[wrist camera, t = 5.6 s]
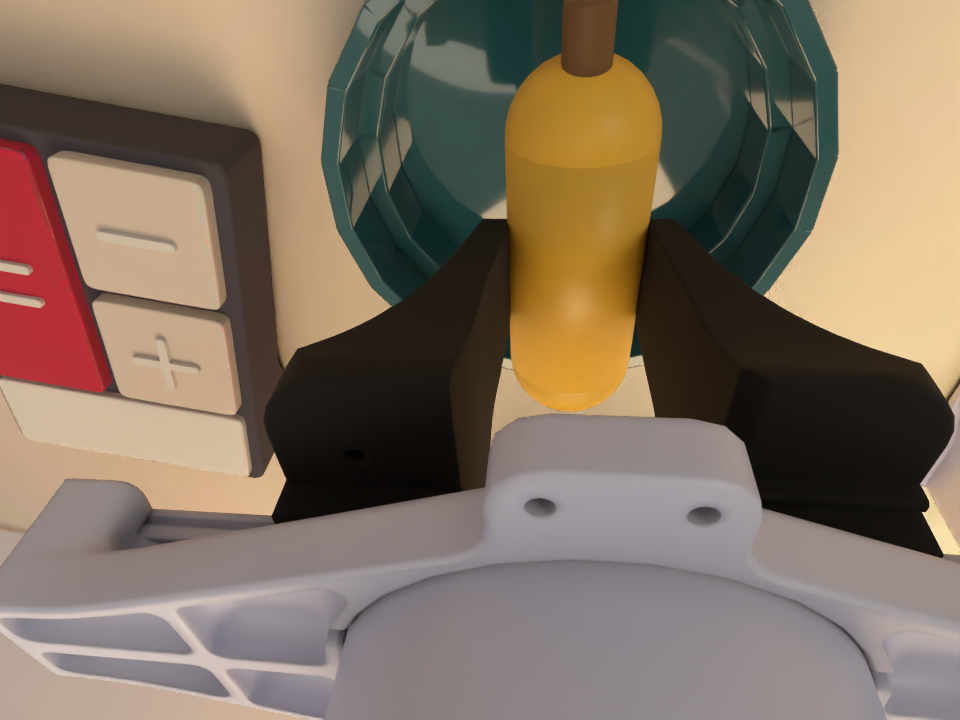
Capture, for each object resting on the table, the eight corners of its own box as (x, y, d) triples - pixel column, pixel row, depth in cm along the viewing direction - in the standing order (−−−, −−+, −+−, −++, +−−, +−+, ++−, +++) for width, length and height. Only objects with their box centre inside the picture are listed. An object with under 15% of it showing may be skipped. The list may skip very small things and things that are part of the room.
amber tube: (618, 363, 18) (627, 442, 15) (514, 360, 18) (508, 437, 16) (670, -29, 11) (696, 11, 9) (506, -21, 11) (493, 18, 9)
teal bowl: (732, 299, 23) (760, 381, 20) (396, 294, 24) (370, 370, 21) (853, -148, 14) (941, -138, 11) (322, -114, 16) (258, -95, 12)
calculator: (213, 173, 17) (257, 494, 27) (268, 124, 21) (290, 426, 30) (-170, 103, 17) (11, 452, 27) (-53, 65, 21) (71, 387, 30)
